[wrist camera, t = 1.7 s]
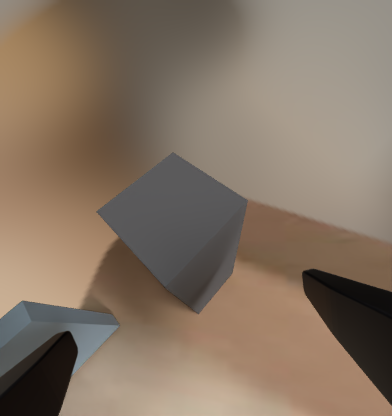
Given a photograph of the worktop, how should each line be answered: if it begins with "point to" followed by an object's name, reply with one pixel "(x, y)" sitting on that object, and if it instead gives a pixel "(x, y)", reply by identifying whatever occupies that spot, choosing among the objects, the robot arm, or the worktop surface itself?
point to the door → (50, 331)
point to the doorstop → (180, 228)
